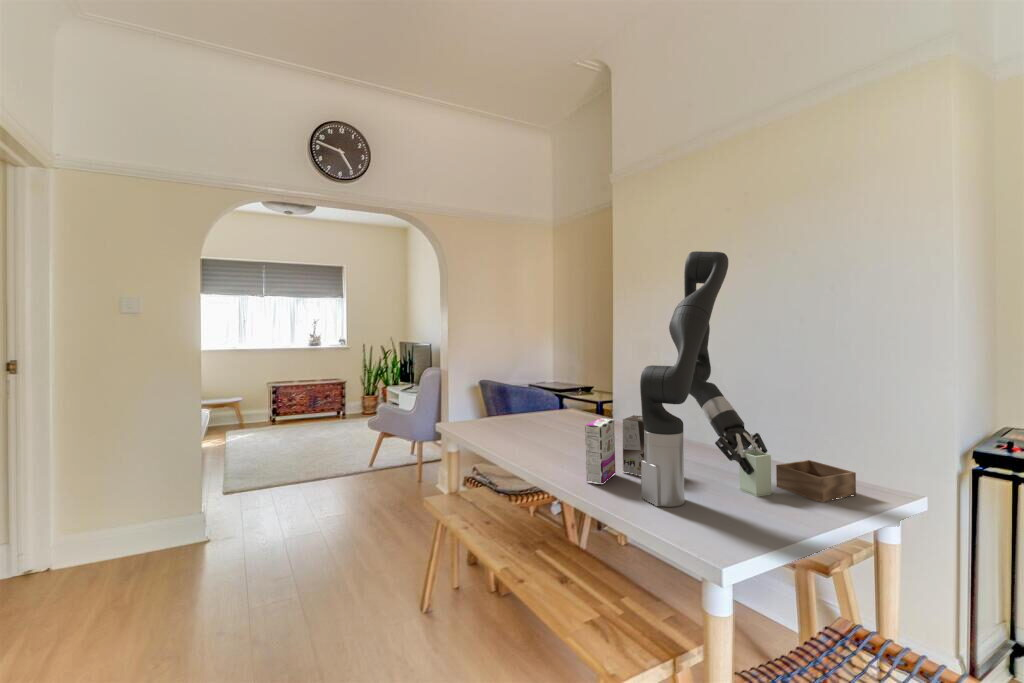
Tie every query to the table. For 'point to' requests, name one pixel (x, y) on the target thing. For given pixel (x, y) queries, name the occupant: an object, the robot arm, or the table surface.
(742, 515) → the table surface
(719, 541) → the table surface
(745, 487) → the green square vase
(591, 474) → the candy bar box
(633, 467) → the coffee box
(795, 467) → the walnut crate
